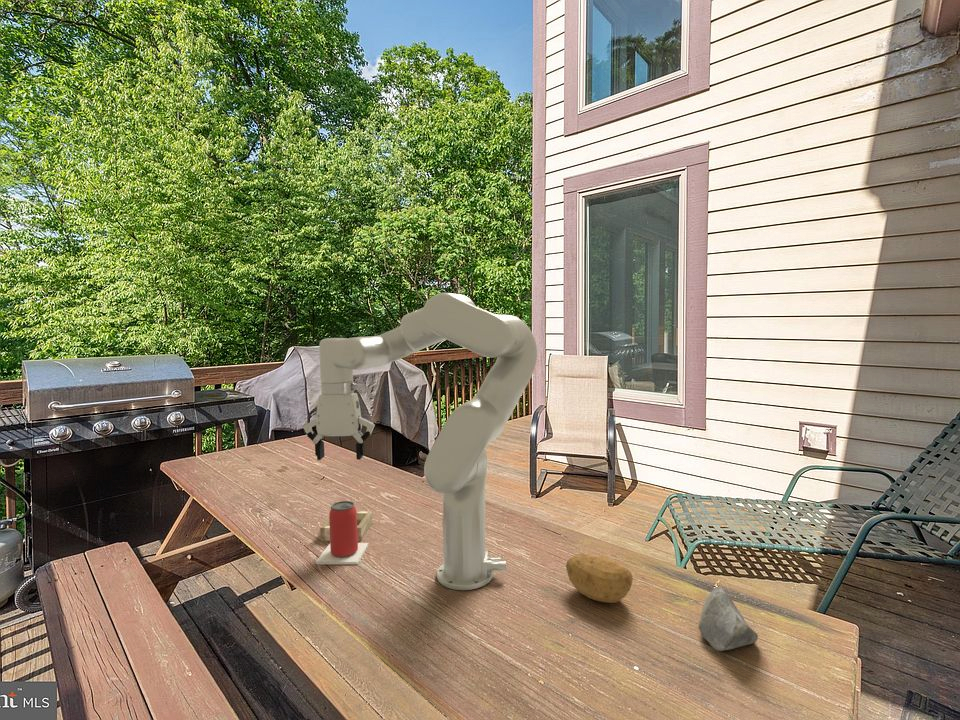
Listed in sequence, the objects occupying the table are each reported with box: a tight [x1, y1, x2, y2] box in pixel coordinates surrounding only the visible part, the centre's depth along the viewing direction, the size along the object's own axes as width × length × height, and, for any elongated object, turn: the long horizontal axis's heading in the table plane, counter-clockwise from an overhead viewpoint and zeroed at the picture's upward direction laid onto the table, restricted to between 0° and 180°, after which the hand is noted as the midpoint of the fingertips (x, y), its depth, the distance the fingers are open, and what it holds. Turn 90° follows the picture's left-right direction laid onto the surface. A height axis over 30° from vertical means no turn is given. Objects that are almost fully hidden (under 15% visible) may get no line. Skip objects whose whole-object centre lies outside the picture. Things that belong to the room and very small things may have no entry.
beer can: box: [328, 500, 359, 557], centre depth 119 cm, size 7×7×12 cm
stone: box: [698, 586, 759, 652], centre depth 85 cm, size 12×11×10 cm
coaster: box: [315, 542, 369, 565], centre depth 120 cm, size 10×10×1 cm
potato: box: [565, 553, 633, 604], centre depth 99 cm, size 10×14×8 cm
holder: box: [319, 511, 373, 542], centre depth 133 cm, size 11×11×4 cm
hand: (340, 458), depth 118 cm, fingers open, 9 cm apart
